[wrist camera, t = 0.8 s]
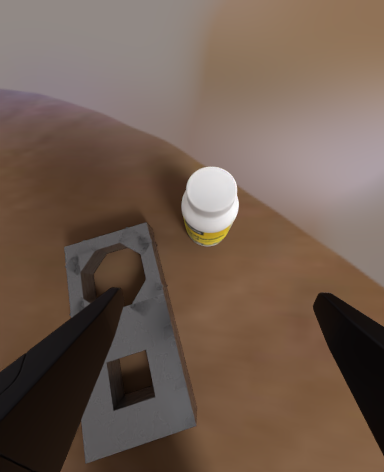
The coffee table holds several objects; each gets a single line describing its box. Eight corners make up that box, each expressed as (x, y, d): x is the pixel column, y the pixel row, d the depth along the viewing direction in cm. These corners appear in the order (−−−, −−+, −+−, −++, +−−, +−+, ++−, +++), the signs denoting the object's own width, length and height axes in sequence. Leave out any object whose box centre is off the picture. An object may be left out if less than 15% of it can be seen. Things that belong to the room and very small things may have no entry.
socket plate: (198, 406, 18) (198, 425, 16) (99, 439, 18) (83, 464, 15) (153, 227, 23) (147, 220, 21) (77, 250, 23) (62, 246, 21)
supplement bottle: (181, 241, 23) (167, 210, 13) (192, 204, 24) (186, 152, 15) (223, 252, 22) (239, 227, 13) (231, 213, 24) (252, 164, 14)
